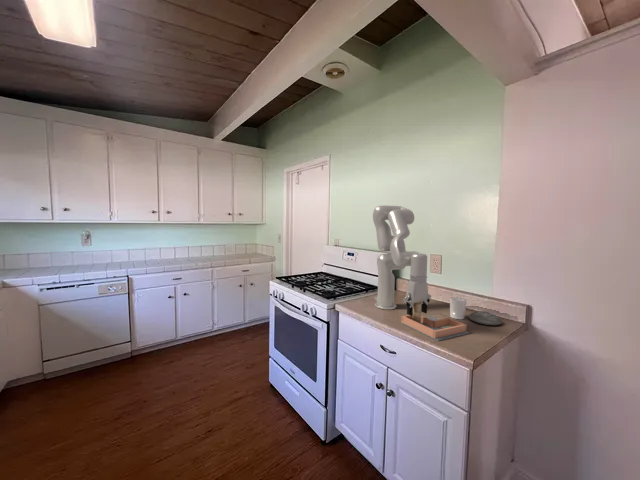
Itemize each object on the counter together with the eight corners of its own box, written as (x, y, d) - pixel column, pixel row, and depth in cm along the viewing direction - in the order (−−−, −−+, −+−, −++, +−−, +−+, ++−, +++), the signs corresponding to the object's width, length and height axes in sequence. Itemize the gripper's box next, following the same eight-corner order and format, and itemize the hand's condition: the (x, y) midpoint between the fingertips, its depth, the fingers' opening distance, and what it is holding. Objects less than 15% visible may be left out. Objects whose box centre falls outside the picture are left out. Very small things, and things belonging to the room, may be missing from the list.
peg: (410, 323, 138) (411, 299, 137) (416, 322, 140) (417, 298, 139) (416, 326, 135) (417, 301, 134) (422, 324, 136) (423, 300, 136)
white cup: (463, 315, 153) (464, 297, 152) (467, 320, 145) (468, 301, 144) (447, 314, 155) (448, 296, 154) (450, 318, 147) (451, 300, 146)
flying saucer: (471, 315, 155) (472, 305, 154) (503, 321, 145) (504, 311, 145) (465, 322, 143) (465, 311, 143) (499, 330, 134) (500, 318, 133)
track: (400, 322, 140) (400, 315, 140) (429, 317, 149) (430, 310, 148) (437, 341, 119) (438, 332, 119) (469, 333, 128) (469, 325, 128)
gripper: (425, 276, 143) (424, 309, 144) (399, 278, 135) (397, 313, 137) (437, 279, 136) (435, 313, 137) (410, 281, 129) (408, 318, 130)
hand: (416, 313), depth 137 cm, fingers open, 8 cm apart
